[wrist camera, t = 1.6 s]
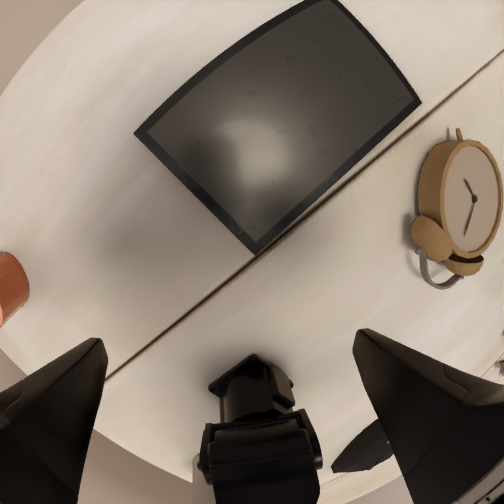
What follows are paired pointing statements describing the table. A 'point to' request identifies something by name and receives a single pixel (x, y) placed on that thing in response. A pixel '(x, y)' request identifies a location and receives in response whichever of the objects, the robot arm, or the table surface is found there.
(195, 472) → the cup
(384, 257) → the table surface
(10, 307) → the pen pot
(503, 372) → the mug
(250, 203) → the tablet
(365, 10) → the table surface
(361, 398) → the table surface
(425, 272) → the alarm clock
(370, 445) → the computer mouse
